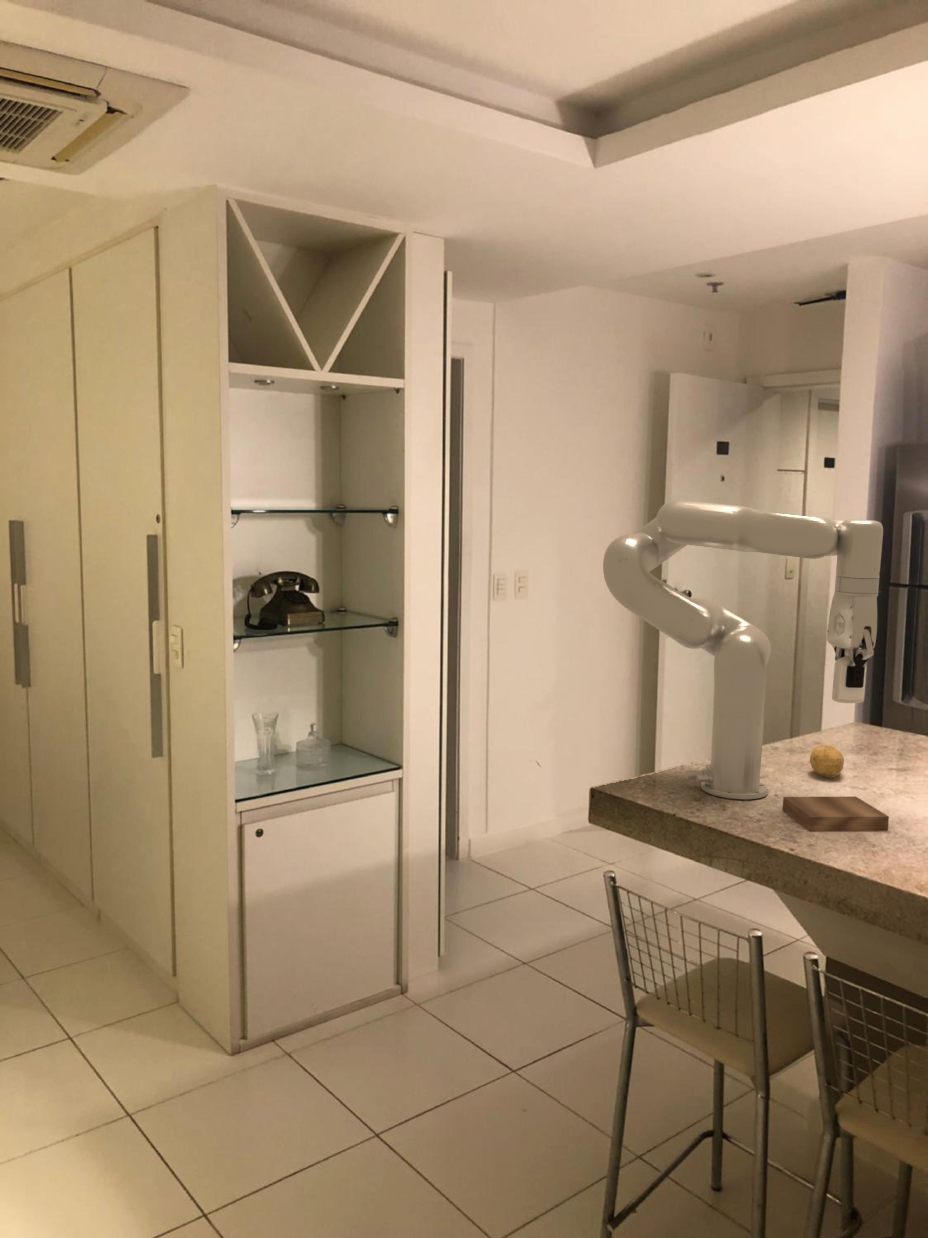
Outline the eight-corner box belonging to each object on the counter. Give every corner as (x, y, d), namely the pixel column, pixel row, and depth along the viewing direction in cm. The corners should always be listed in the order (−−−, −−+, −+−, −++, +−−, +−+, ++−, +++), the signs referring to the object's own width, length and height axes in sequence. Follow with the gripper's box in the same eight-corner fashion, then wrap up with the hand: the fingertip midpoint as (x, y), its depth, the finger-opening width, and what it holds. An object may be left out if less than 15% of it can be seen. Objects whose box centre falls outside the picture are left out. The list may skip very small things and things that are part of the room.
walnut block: (810, 834, 177) (811, 817, 176) (782, 812, 189) (783, 796, 188) (887, 833, 178) (888, 816, 178) (854, 812, 190) (856, 796, 190)
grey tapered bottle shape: (863, 705, 188) (869, 640, 186) (831, 702, 190) (836, 637, 188) (864, 701, 192) (869, 637, 190) (832, 698, 194) (837, 635, 192)
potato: (806, 779, 210) (808, 749, 210) (811, 767, 220) (813, 738, 220) (841, 783, 208) (843, 753, 207) (844, 771, 218) (846, 742, 217)
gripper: (816, 582, 196) (808, 677, 198) (860, 591, 180) (852, 693, 182) (852, 583, 197) (845, 677, 199) (900, 591, 181) (891, 694, 183)
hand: (848, 684), depth 190 cm, fingers closed on grey tapered bottle shape, 3 cm apart
